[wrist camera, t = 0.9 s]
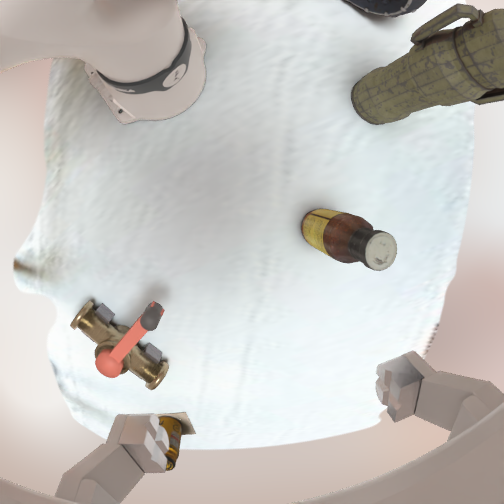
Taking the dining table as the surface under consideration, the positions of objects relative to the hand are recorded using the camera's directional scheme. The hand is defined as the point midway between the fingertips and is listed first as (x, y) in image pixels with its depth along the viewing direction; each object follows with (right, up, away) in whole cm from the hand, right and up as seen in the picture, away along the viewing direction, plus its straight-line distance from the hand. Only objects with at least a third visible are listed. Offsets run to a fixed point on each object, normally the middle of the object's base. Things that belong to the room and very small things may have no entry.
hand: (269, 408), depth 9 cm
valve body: (-24, -10, +39) cm, 47 cm away
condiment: (-18, -32, +45) cm, 58 cm away
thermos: (+20, +31, +33) cm, 50 cm away
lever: (-19, -8, +31) cm, 37 cm away
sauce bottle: (+10, +10, +37) cm, 40 cm away
